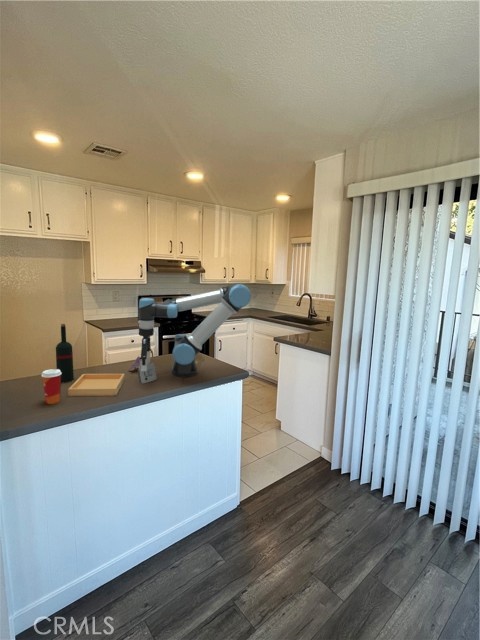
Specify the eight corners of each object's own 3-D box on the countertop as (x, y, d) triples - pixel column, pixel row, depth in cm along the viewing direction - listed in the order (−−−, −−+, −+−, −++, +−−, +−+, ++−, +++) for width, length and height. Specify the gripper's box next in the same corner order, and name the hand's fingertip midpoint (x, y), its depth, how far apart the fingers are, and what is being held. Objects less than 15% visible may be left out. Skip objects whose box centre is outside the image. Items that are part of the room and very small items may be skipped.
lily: (146, 368, 195) (138, 354, 194) (155, 365, 187) (147, 351, 186) (129, 378, 187) (121, 364, 186) (138, 376, 179) (129, 361, 177)
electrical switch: (142, 384, 167) (141, 367, 166) (136, 382, 170) (135, 365, 169) (157, 380, 174) (156, 363, 173) (151, 378, 177) (150, 362, 176)
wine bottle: (70, 375, 174) (68, 321, 169) (75, 380, 167) (73, 324, 162) (54, 377, 169) (51, 322, 164) (58, 383, 162) (55, 325, 157)
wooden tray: (124, 379, 172) (124, 373, 171) (115, 395, 151) (115, 388, 150) (83, 380, 168) (83, 373, 168) (68, 396, 148) (68, 389, 147)
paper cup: (48, 397, 145) (46, 368, 143) (66, 398, 146) (64, 368, 144) (39, 405, 138) (37, 374, 135) (57, 405, 138) (56, 374, 136)
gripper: (142, 323, 179) (141, 359, 182) (134, 332, 154) (134, 374, 158) (156, 323, 180) (155, 359, 183) (150, 333, 155) (150, 374, 159)
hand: (145, 366), depth 170 cm, fingers open, 13 cm apart
